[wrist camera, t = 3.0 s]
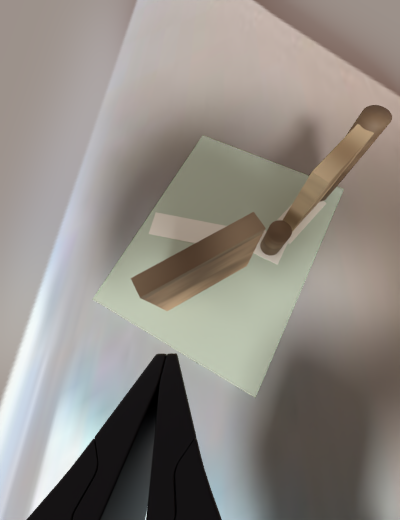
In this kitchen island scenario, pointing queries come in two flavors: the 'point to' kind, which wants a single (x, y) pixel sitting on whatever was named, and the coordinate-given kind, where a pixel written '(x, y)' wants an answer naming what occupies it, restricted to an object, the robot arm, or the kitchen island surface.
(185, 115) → the kitchen island surface
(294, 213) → the tan piece
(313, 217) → the card
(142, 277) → the tan wooden plank
